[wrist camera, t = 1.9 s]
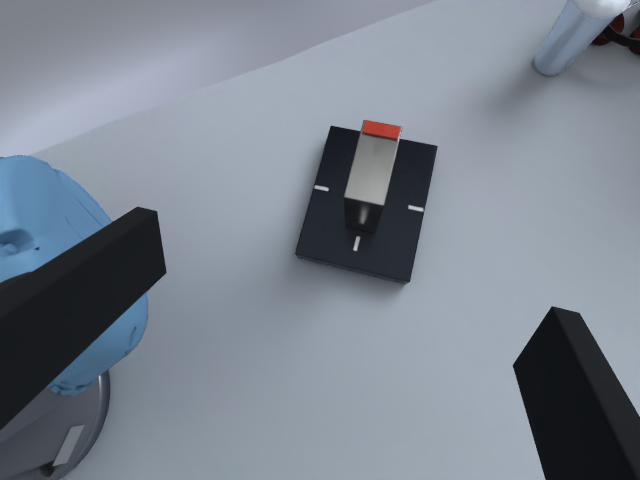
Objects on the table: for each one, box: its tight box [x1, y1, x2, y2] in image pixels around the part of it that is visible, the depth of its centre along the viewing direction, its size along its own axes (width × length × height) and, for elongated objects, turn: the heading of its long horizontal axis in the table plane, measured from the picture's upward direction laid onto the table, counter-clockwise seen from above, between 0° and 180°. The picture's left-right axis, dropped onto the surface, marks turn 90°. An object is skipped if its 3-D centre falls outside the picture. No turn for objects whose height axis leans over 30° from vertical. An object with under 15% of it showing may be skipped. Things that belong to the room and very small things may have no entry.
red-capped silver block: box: [344, 120, 402, 233], centre depth 29 cm, size 6×3×8 cm, turn 165°
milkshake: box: [533, 0, 640, 76], centre depth 32 cm, size 5×5×10 cm
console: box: [295, 126, 437, 284], centre depth 34 cm, size 14×11×2 cm
